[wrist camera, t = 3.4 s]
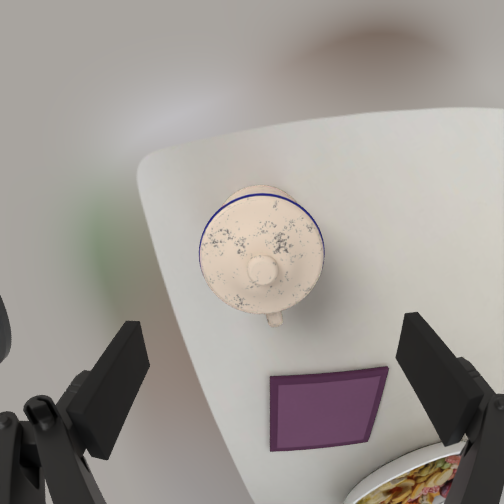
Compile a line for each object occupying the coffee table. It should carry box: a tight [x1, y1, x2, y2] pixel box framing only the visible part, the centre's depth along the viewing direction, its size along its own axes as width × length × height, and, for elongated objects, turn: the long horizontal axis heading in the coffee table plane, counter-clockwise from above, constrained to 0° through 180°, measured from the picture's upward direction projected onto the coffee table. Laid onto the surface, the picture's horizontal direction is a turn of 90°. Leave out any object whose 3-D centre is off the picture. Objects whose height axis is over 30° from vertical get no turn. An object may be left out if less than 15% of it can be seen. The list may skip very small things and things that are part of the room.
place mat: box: [270, 366, 389, 452], centre depth 38 cm, size 15×15×1 cm
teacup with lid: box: [199, 185, 325, 327], centre depth 26 cm, size 12×9×12 cm
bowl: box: [343, 441, 466, 504], centre depth 42 cm, size 30×30×8 cm
